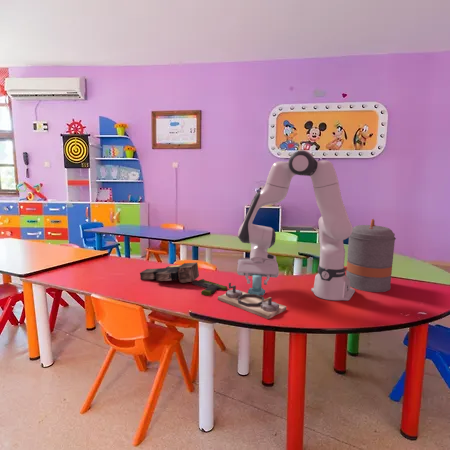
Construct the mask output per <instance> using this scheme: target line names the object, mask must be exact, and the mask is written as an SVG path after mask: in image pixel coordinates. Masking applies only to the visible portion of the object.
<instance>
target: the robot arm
mask: <svg viewBox="0 0 450 450" xmlns="http://www.w3.org/2000/svg"><path fill="white" fill-rule="evenodd" d="M290 155H291V156H290V157H289V159H288V161H281V160H278V161H275V162H274V163H273V164H272V165H271V168H270V170H269V172H268V174H267V178H266V181H265V184H264V187H263V188H262V190H260V191H257V193H255V195H254V197H253V199H252V201H251V203H250V206H249V207H248V209H247V211H246V214H245V216H244V219H243V221H242V223H241V225H239V229H238V231H237V237H238V239H239V241H240V242H241V243H243V244H250V253H249V257H240V258H239V259H237V269H236V272H237V275H238V276H243V277H245V279H246V284H249V285H250V284H251V278H249V277H253V275H261V276H262V278H264V277H265V278H266V279H264V280H263V285H265V286H267V285H268V282H269V280H270V278H278V277H279V274H280V273H279V272H280V271H279V265H278V262H277V256H276V255H273V254H271V253H268V249H270V248H272V247H273V246H274V245H275V243H276V238H277V237H276V235H277V234H276V231H275V229H274V228H272V227H271V226H265V225H258V224H254V223H253V222H254V219H255V217H256V215H257V213H258V211H259V209H260V208H262V207H265V206H268V205H275V204H279V203H280V202H282V201H283V200H285V199H286V197H287V194H288V192H289V188H290V185H291V181H292V179H293V178H294V177H295V176H303V177H304V176H305V177H306V176H307V177H310V179H311V182H312V187H313V188H312V189H313V192H314V196H315V201H316V206H317V207H318V210H319V212H320V215H321V216H320V217H319V218H318V224H317V225H318V234H319V237H318V238H319V248H320V249H319V264H318V267H317V273H316V274H315V277H314V282H313V283H314V284H313V287H311V289H310V291H311V292H312V293H313V294H314V295H315V296H316V297H318V298H320V299H323V300H326V301H350V300H351V298H352V297H353V295H354V294H355V292H356V290H355V288H352V287H350V279H349V278H348V277H347V276H346V270H347V265H345V257H346V249H345V245H344V240H347V239H349V237H350V235H351V234H352V231H353V227H354V226H353V225H352V222H351V221H350V217H349V215H348V212H347V209H346V205H345V204H344V202H343V199H342V193H341V189H340V188H341V187H340V184H339V179H338V176H337V172H336V168H335V167H334V164H333V162H331V161H329V160H327V159H326V160H323V159H322V160H316V159H315V157H314V156H313V154H312V153H311V152H310V151H307V150H305V149H304V150H297V151H295V152H293V153H292V154H290Z"/></svg>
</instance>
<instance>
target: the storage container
mask: <svg viewBox="0 0 450 450" xmlns="http://www.w3.org/2000/svg"><path fill="white" fill-rule="evenodd" d="M352 227H353V231H352V234H351V235H350V237H349V238H348V245H347V260H346V266H347V270H345V275H346V276H347V277H348V278H349V279H350V288H352V289H354V290H355V289H356V290H358V291H362V292H369V293H370V292H371V293H384V292H387V291H390V290H391V283H392V272H393V271H392V270H393V264H394V263H393V260H394V252H395V244H396V243H395V241H396V239H397V238H396V237H395V236H396V235H395V233H394V232H393V230H392V229H391V228H389V227H386V226H383V225H382V226H381V225H376V224H375V219H374V218H372V219H371V221H370V224H361V225H360V224H359V225H355V226H352Z"/></svg>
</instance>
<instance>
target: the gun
mask: <svg viewBox="0 0 450 450" xmlns="http://www.w3.org/2000/svg"><path fill="white" fill-rule="evenodd" d="M191 284H192V285H193V286H197V287H199V288H204V289H202V290H201V292H200V293H201V295H202V296H206V297H207V296H211V295H212V294H214V293H215V292H216V291H226V290H229V287H228V286H225V285H224V284H223V285H222V284H219V283H216V282H212V281H210V280H209V281H208V280H205V279H204V278H202V279H199V280H194V281H193V282H192V283H191Z"/></svg>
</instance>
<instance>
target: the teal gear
mask: <svg viewBox="0 0 450 450" xmlns="http://www.w3.org/2000/svg"><path fill="white" fill-rule="evenodd" d="M251 280H252V282H251V283H252V285H251V286H252V287H249V289H248V290H247V293H248V294H256V295H259V296H265V294H266V289H264V288H263V286H262V285H263V284H262V281H263V277H262V276H261V275H253V276H252V279H251Z"/></svg>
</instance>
